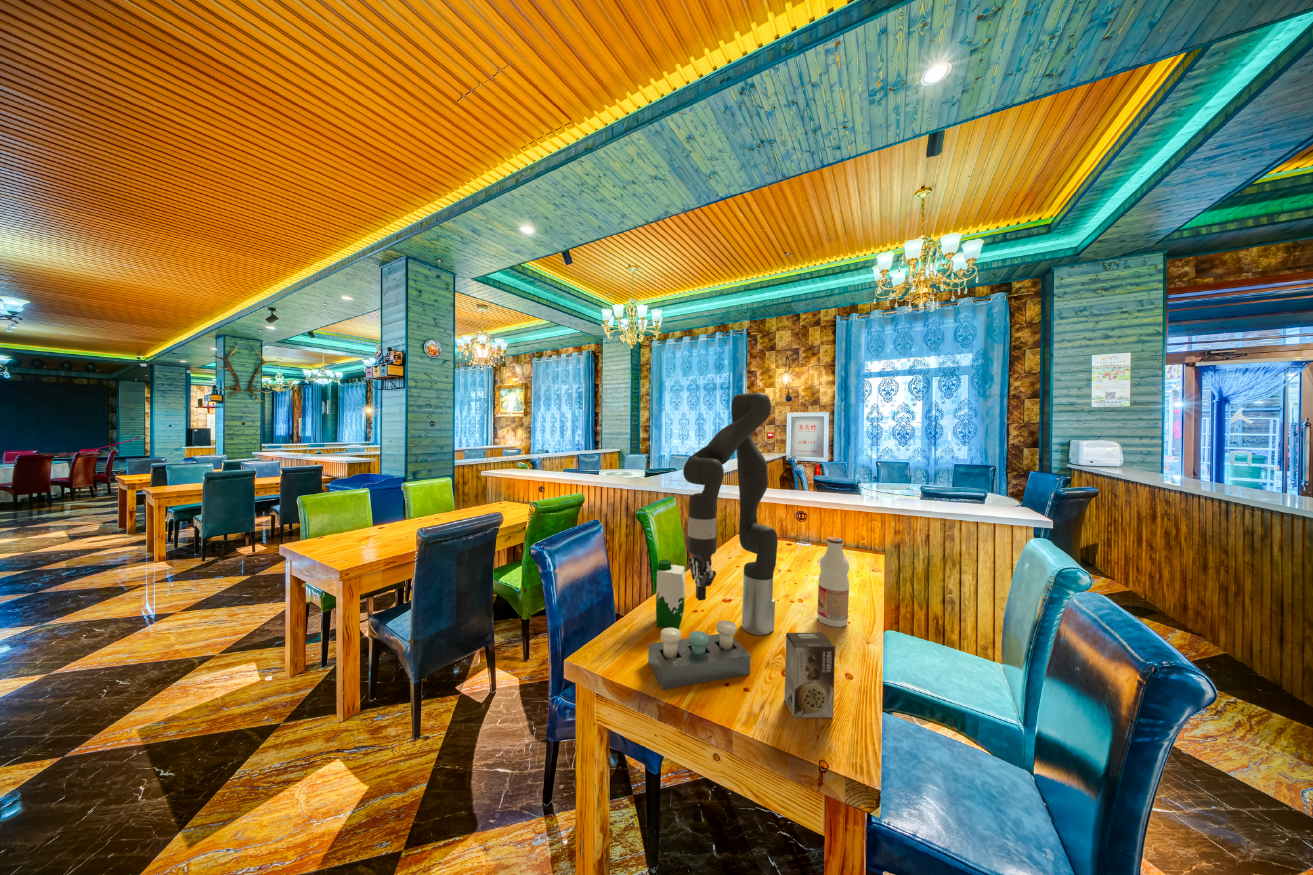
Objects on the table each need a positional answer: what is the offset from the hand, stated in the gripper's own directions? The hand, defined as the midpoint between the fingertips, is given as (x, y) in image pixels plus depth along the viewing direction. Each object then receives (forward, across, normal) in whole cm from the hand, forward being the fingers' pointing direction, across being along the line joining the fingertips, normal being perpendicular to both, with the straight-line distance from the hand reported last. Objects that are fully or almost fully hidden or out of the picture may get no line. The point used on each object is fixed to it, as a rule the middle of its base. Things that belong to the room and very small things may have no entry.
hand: (700, 599), depth 106 cm
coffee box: (+19, -21, -18) cm, 33 cm away
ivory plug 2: (+14, 0, -8) cm, 16 cm away
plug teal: (+16, 0, 0) cm, 16 cm away
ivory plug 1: (+14, 0, +8) cm, 16 cm away
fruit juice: (+20, +13, -55) cm, 59 cm away
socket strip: (+18, 0, 0) cm, 18 cm away
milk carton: (+19, +25, -1) cm, 31 cm away
